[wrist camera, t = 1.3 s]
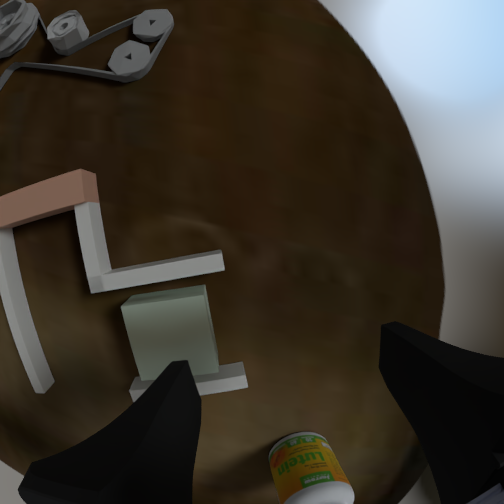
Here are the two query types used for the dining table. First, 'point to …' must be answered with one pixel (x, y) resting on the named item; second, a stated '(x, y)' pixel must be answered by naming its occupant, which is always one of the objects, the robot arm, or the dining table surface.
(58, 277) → the dining table surface
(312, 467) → the supplement bottle
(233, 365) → the channel
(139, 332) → the block
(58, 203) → the block
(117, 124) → the dining table surface
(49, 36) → the pulley system
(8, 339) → the dining table surface
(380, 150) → the dining table surface
